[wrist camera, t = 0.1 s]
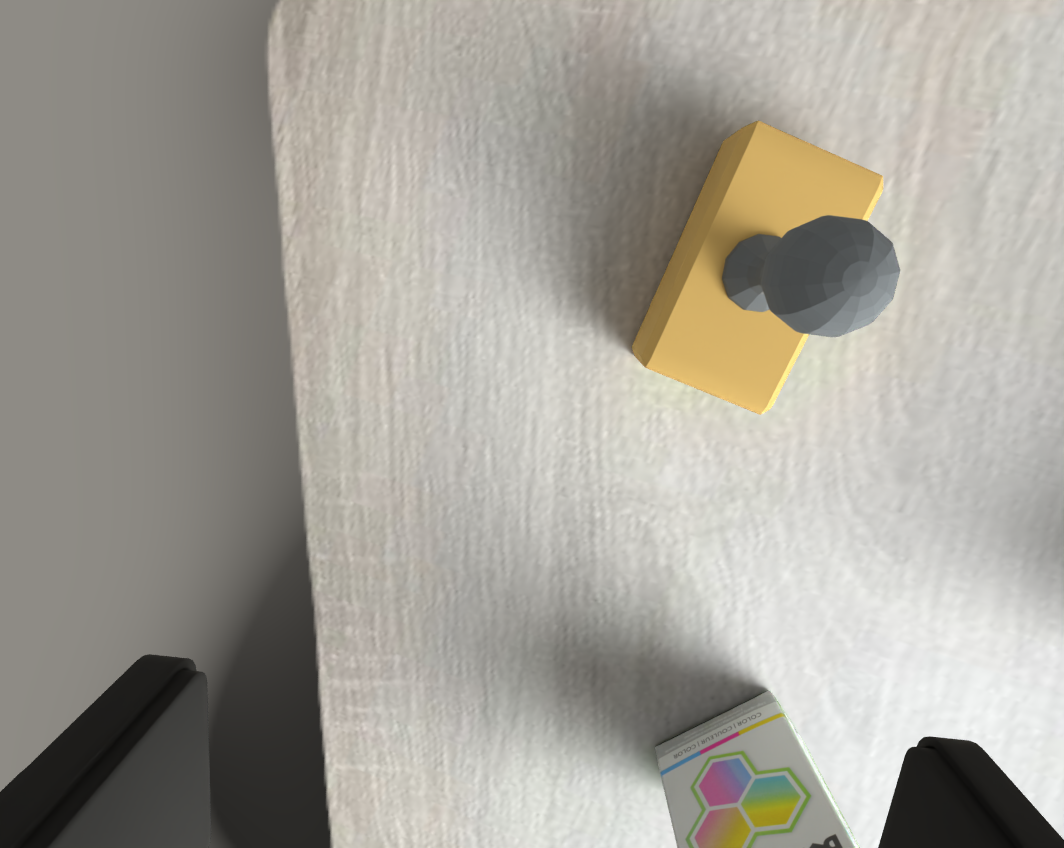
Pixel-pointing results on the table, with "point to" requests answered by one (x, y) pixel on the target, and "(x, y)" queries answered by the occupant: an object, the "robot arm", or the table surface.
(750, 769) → the ink box
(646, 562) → the table surface
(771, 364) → the rubber stamp
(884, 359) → the table surface
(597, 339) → the table surface
